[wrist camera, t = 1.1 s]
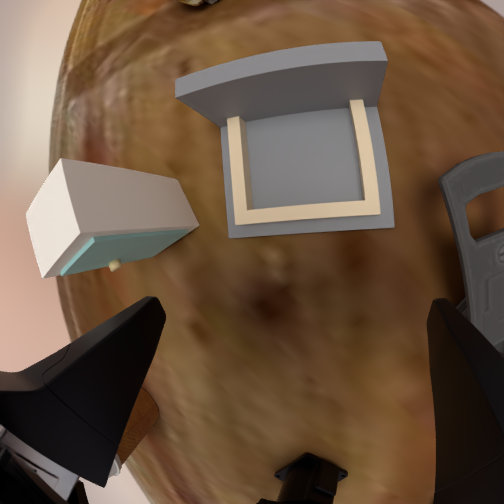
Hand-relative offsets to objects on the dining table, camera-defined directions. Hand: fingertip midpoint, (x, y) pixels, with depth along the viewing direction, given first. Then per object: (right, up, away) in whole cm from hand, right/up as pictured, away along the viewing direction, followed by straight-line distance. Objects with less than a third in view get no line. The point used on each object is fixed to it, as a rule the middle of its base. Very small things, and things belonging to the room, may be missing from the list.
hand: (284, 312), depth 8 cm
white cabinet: (-9, +5, +17) cm, 20 cm away
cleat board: (+3, +9, +13) cm, 16 cm away
